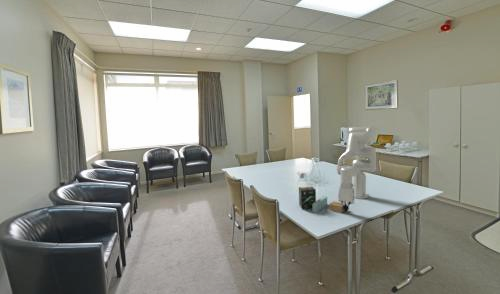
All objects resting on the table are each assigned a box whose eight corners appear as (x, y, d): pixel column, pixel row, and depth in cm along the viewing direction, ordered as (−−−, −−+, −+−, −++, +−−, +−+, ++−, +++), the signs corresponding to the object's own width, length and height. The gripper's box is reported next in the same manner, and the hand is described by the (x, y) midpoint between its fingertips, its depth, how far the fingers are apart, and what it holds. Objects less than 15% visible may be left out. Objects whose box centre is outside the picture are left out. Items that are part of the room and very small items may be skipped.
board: (323, 203, 190) (323, 196, 189) (327, 204, 188) (327, 196, 187) (312, 211, 175) (312, 203, 174) (316, 212, 173) (316, 204, 172)
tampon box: (312, 204, 189) (312, 186, 188) (316, 208, 180) (316, 189, 178) (298, 204, 189) (298, 186, 187) (301, 209, 180) (301, 190, 178)
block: (334, 207, 182) (334, 200, 181) (345, 210, 175) (345, 203, 175) (329, 210, 177) (329, 203, 176) (341, 213, 170) (341, 206, 170)
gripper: (359, 185, 166) (358, 211, 168) (337, 182, 175) (337, 206, 177) (356, 188, 160) (355, 214, 162) (333, 185, 169) (333, 210, 172)
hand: (346, 210), depth 170 cm, fingers closed
